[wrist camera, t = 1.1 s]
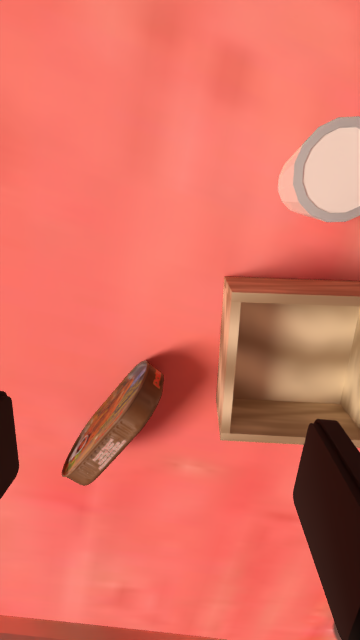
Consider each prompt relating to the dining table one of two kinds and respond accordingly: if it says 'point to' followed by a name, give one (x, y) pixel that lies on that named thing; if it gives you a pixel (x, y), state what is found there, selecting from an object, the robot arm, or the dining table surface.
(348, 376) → the box
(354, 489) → the robot arm
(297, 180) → the shot glass
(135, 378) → the tin
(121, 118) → the dining table surface
